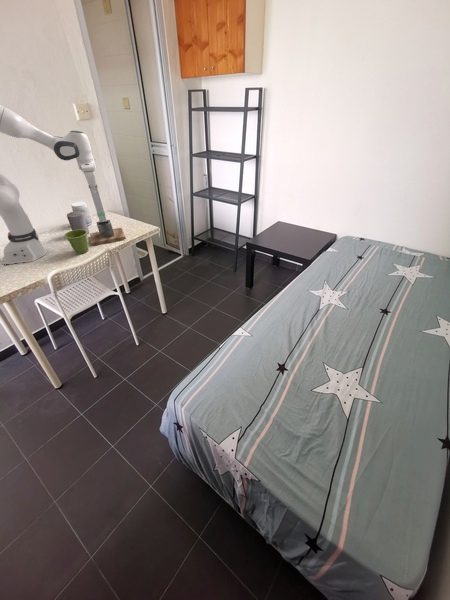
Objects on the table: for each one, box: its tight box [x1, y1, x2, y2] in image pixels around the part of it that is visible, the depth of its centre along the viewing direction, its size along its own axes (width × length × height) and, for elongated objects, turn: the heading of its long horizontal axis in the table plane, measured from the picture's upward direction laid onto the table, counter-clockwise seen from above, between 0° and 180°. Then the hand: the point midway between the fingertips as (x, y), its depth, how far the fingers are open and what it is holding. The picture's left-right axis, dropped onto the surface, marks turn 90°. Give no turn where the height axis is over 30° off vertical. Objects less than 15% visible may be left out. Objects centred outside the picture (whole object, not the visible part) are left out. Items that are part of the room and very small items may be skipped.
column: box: [87, 183, 108, 222], centre depth 168 cm, size 5×5×21 cm
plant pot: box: [63, 229, 89, 255], centre depth 162 cm, size 12×12×11 cm
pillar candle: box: [66, 211, 90, 235], centre depth 182 cm, size 10×10×15 cm
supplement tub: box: [70, 201, 93, 227], centre depth 196 cm, size 10×10×15 cm
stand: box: [89, 219, 127, 247], centre depth 177 cm, size 20×16×11 cm
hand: (94, 191), depth 163 cm, fingers open, 8 cm apart
